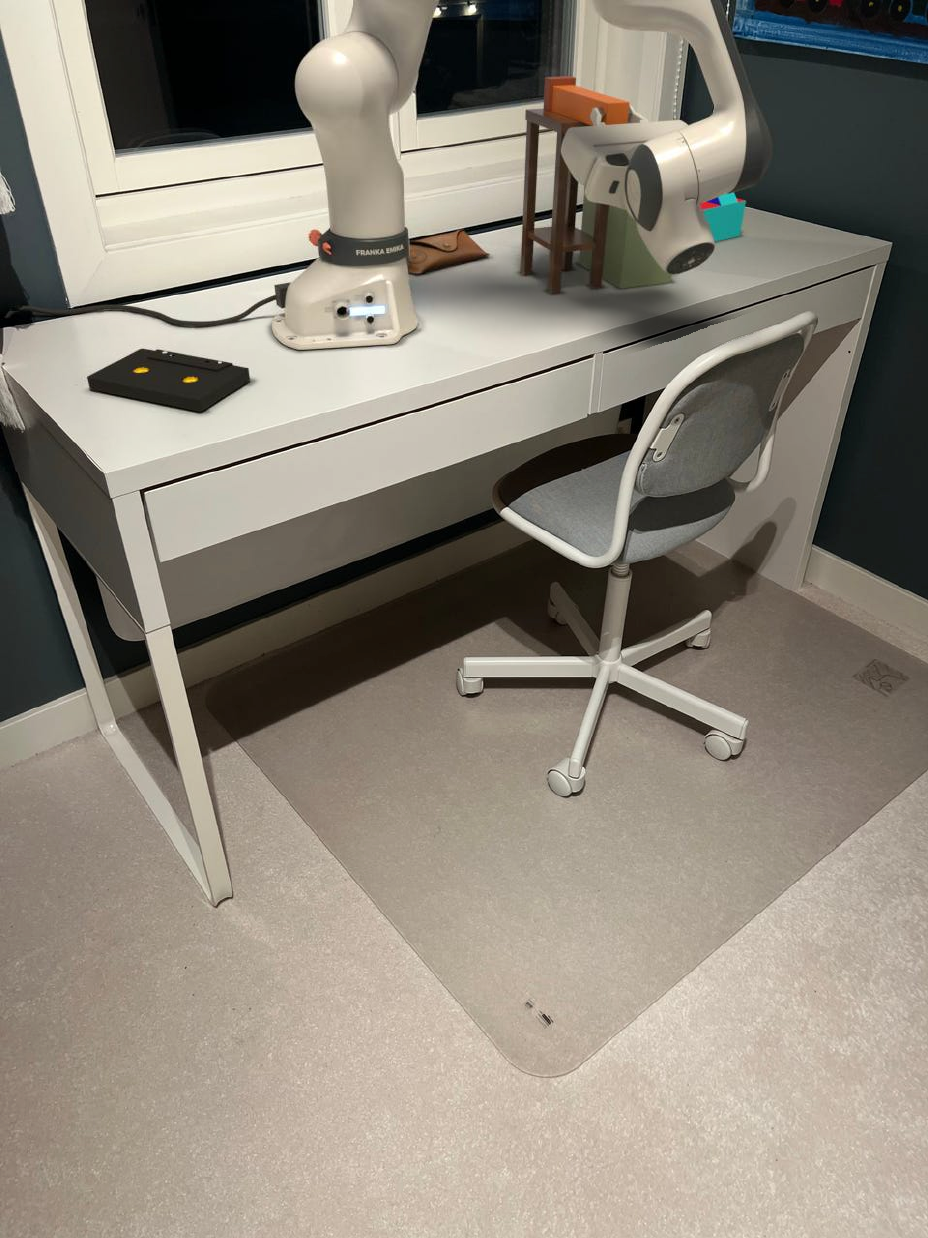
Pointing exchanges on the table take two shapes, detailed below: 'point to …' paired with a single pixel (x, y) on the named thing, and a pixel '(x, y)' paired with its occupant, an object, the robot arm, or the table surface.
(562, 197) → the stand
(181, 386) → the cassette tape
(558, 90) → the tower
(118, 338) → the table surface
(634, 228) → the sage green box
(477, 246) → the sunglasses case
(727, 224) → the building blocks toy
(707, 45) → the robot arm
